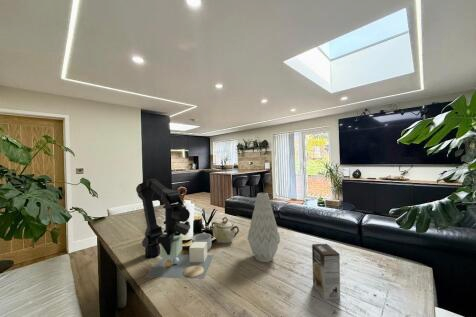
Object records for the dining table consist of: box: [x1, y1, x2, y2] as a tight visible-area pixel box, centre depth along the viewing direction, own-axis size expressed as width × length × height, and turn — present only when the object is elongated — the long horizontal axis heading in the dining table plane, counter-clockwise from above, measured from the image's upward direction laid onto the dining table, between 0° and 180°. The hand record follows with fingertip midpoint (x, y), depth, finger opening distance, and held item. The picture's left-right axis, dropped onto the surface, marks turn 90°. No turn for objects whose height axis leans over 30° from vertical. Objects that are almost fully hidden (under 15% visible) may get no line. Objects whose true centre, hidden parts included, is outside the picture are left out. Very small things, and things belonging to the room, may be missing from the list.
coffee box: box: [311, 243, 341, 300], centre depth 76 cm, size 9×6×16 cm
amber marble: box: [165, 260, 172, 267], centre depth 95 cm, size 3×3×3 cm
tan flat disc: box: [183, 266, 204, 277], centre depth 90 cm, size 9×9×1 cm
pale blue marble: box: [173, 257, 179, 264], centre depth 97 cm, size 3×3×3 cm
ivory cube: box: [188, 242, 208, 262], centre depth 102 cm, size 7×7×7 cm
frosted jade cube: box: [160, 235, 183, 258], centre depth 96 cm, size 7×7×7 cm
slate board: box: [144, 254, 215, 280], centre depth 96 cm, size 26×21×1 cm
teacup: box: [191, 232, 212, 252], centre depth 114 cm, size 14×11×8 cm
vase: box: [246, 192, 281, 263], centre depth 103 cm, size 17×17×33 cm
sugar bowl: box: [211, 216, 240, 244], centre depth 125 cm, size 20×15×15 cm
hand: (172, 251), depth 96 cm, fingers closed on frosted jade cube, 7 cm apart
